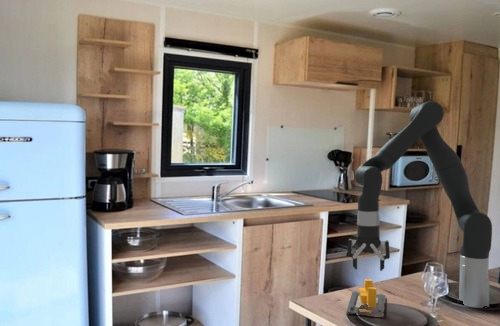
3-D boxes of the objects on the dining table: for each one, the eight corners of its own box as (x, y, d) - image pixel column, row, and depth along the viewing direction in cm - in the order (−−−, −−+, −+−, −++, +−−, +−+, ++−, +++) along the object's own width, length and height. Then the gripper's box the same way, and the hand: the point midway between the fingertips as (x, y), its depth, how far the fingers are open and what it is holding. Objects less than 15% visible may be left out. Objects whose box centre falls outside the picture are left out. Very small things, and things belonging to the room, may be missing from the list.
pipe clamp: (359, 296, 171) (359, 278, 171) (371, 297, 170) (371, 279, 170) (362, 307, 159) (363, 288, 159) (376, 308, 158) (376, 289, 158)
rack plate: (385, 297, 173) (385, 292, 173) (384, 318, 152) (384, 312, 152) (352, 294, 177) (352, 289, 177) (346, 314, 156) (346, 308, 156)
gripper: (389, 222, 165) (389, 268, 165) (348, 221, 169) (348, 265, 169) (389, 225, 158) (389, 273, 158) (346, 224, 162) (346, 271, 162)
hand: (368, 269), depth 164 cm, fingers open, 8 cm apart
